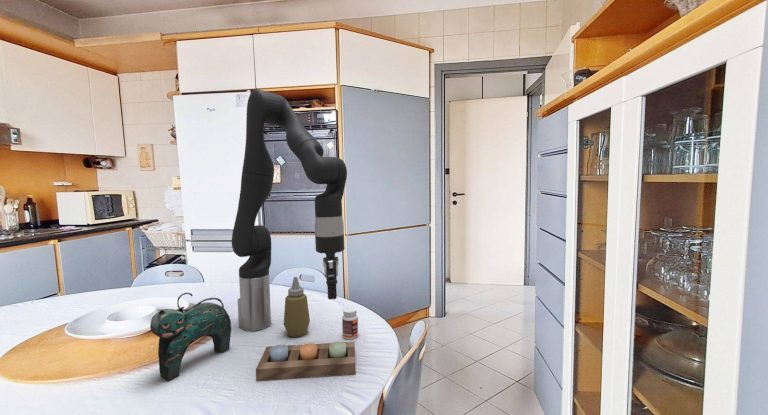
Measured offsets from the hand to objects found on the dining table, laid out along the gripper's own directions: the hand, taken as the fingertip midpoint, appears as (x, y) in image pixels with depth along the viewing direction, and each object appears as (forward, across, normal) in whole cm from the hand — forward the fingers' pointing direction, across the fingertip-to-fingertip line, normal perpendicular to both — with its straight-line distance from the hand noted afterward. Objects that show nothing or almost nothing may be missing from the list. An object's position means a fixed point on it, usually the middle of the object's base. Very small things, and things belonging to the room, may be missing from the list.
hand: (332, 293), depth 91 cm
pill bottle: (+18, +13, -5) cm, 23 cm away
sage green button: (+16, -2, -1) cm, 16 cm away
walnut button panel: (+18, -2, +7) cm, 19 cm away
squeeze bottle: (+18, +18, +11) cm, 27 cm away
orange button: (+16, -2, +7) cm, 18 cm away
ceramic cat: (+18, +5, +36) cm, 41 cm away
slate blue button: (+16, -1, +14) cm, 21 cm away
